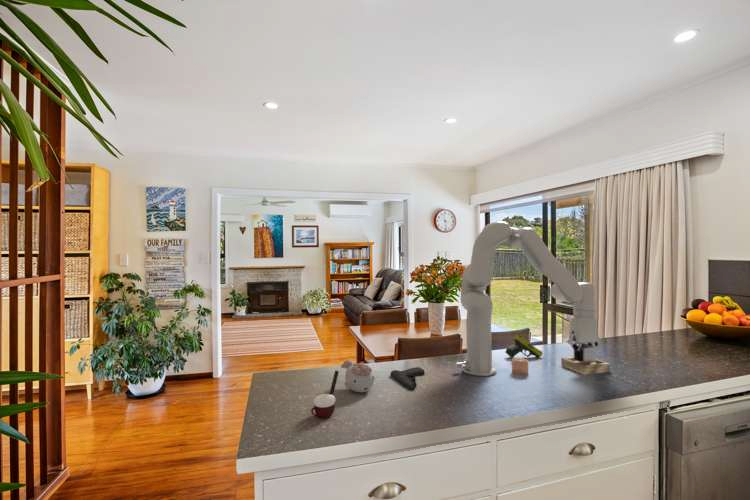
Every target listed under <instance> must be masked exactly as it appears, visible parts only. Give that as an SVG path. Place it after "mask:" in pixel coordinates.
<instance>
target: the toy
mask: <svg viewBox="0 0 750 500" xmlns="http://www.w3.org/2000/svg"><path fill="white" fill-rule="evenodd" d="M340 368H341V369H345V370H346V371H345V373H344V374H345V375H344V377H345V381H344V383H343V384H344V386H345V388H346V390H348V391H350V390H352V391H353V392H355V393H366V392H368V391H369V390H371V388H372V387H373V385H374V382H375V375H374V374H373V372H372V371H373V369H372V367H370V366H369V365H368V364H365V363H364V362H358V363H357V362H355V363H354V362H353V360H350V359H346V360H345V361H343V363H342V364H341V365H340Z"/></svg>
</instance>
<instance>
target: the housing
mask: <svg viewBox="0 0 750 500" xmlns="http://www.w3.org/2000/svg"><path fill="white" fill-rule="evenodd" d="M577 346H578V344H577ZM596 350H597V346H596V347H593V346H589V345H588V344H587V343H582V346H581V350H580V351H582V361H579V362H581V363H584V364H590V363H596V359H597V355H596V354H597V351H596ZM573 357H574V360H575V350H574V349H573ZM576 361H578V360H576Z"/></svg>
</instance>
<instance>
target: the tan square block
mask: <svg viewBox="0 0 750 500" xmlns="http://www.w3.org/2000/svg"><path fill="white" fill-rule="evenodd" d="M511 373H512V374H513V375H516V376H528V375H529V359H526V358H522V357H513V358H511Z"/></svg>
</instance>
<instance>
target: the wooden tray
mask: <svg viewBox="0 0 750 500" xmlns="http://www.w3.org/2000/svg"><path fill="white" fill-rule="evenodd" d="M560 362H561V363H560V365H562V366H561V367H563V366H564V367H563V368H566V369H568V368H569V369H568V370H571V371H573V370H574V372H575V371H576V373H578V372H579V373H578V374H580V373H581V374H580V375H583V376H587V375H594V374H604V373H611V363H610V362H607V361H603V360H602V359H601V360H600V359H598V358H596V363H590V364H584V363H581V362H579V361H576V360H574V356H567V357H561V361H560ZM586 374H587V375H586Z"/></svg>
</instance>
